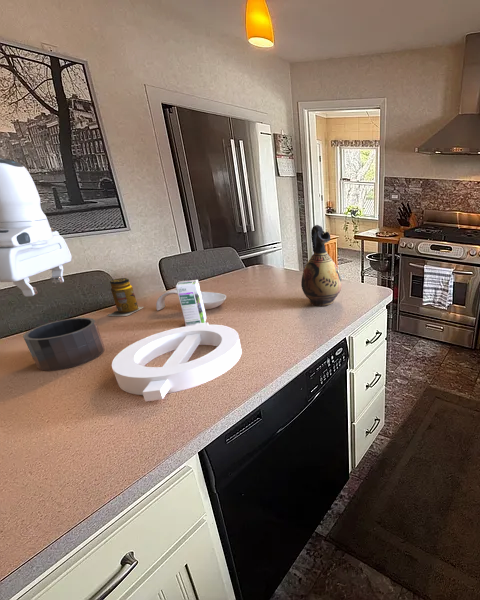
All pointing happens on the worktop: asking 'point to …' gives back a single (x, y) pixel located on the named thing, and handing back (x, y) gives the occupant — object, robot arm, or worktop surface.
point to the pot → (64, 343)
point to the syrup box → (191, 302)
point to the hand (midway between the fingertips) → (45, 289)
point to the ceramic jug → (320, 272)
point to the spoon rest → (208, 298)
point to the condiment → (123, 297)
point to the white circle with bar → (176, 360)
